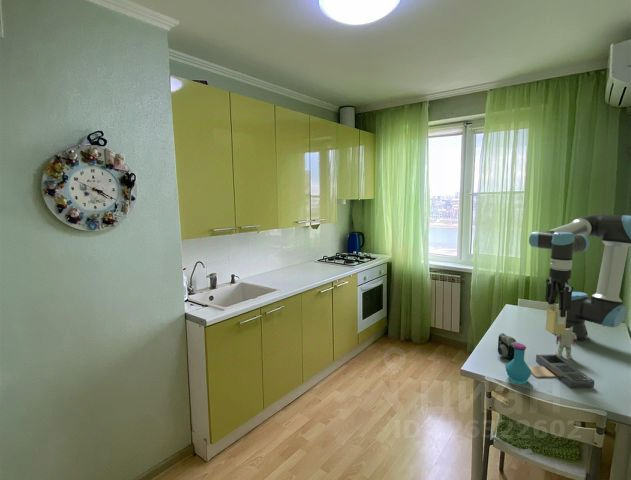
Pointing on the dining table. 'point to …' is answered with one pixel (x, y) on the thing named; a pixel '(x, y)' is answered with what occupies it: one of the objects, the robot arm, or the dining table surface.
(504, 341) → the camera
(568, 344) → the figurine
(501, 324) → the dining table surface
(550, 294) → the robot arm
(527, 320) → the dining table surface
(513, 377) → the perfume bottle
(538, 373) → the cork mat
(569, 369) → the grey slotted tray
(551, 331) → the block
